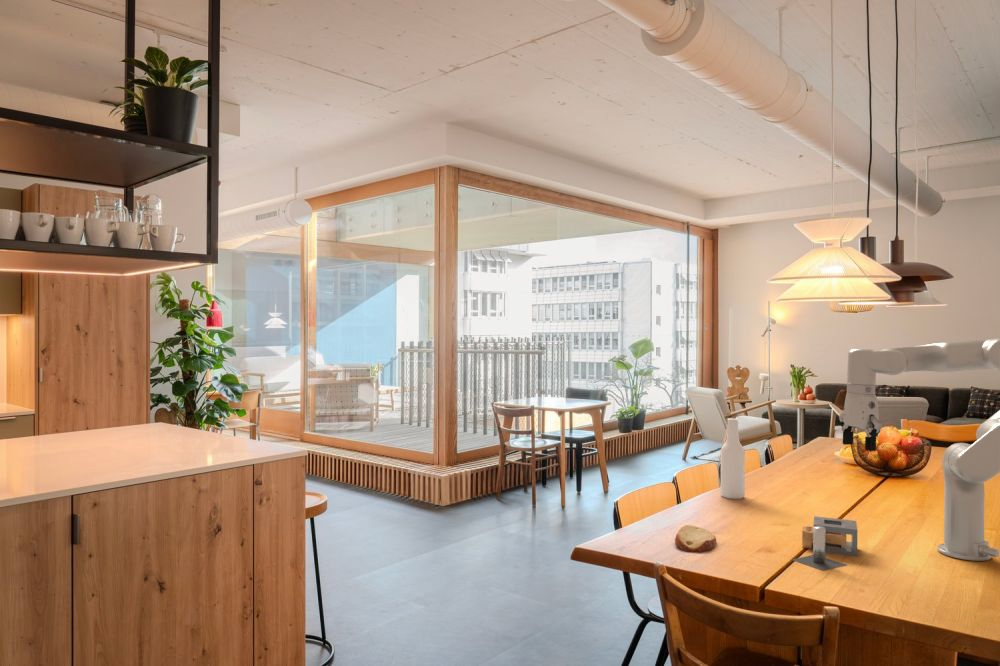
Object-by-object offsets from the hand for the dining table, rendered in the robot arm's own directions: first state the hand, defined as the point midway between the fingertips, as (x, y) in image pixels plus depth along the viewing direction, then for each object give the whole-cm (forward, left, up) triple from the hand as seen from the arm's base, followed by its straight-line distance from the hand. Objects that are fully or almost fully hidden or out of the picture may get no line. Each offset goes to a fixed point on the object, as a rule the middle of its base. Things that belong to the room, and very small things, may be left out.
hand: (858, 447), depth 205 cm
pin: (-6, +26, -29) cm, 39 cm away
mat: (-6, +26, -29) cm, 39 cm away
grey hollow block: (0, +12, -29) cm, 31 cm away
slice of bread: (+25, +42, -30) cm, 57 cm away
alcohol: (+60, -12, -29) cm, 68 cm away
